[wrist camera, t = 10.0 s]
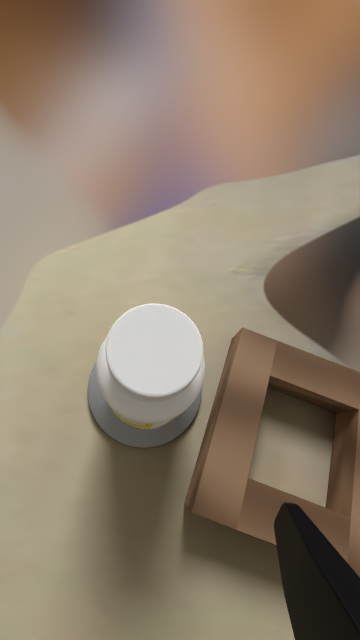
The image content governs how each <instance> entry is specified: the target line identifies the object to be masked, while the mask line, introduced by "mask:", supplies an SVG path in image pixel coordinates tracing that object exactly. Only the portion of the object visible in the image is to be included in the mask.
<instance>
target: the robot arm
mask: <svg viewBox="0 0 360 640" xmlns="http://www.w3.org/2000/svg"><path fill="white" fill-rule="evenodd" d="M274 532H275V538H276V545H277V551H278V558H279V565H280V571H281V578H282V584H283V590H284V594H285V599H286V603H287V608H288V612H289V616H290V620H291V624H292V628H293V633H294V637H295V640H360V577H359V576H358V575H357V573H356V572H355V571H354V570H353V569H352V567H351V566H350V565H349V564H348V563H347V562H346V560H345V559H344V558H343V557H342V556H341V554H340V553H339V552H338V551H337V550H336V549H335V547H334V546H333V545H332V544H331V543H330V542H329V540H328V539H327V538H326V537H325V536H324V534H323V533H322V532H321V531H320V530H319V529H318V527H317V526H316V525H315V524H314V523H313V521H312V520H311V519H310V518H309V517H308V516H307V514H306V513H305V512H304V511H303V510H302V508H301V507H300V506H299V505H297V504H295V503H289V502H284V503H283V504H282V505H281V507H280V509H279V511H278V514H277V516H276V518H275V521H274Z"/></svg>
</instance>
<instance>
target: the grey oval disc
mask: <svg viewBox="0 0 360 640" xmlns="http://www.w3.org/2000/svg"><path fill="white" fill-rule="evenodd" d="M96 362H97V361H96ZM201 394H202V388H201V390H200V392H199V394H198V396H197V398H196V399H195V400H194V402H193V403H192V404H191V406H190V407H189V408H188V409H186V410H185V411H184V412H183V413H181V414H180V415H179V416H177V417H176V418H174V419H173V420H171V421H170V422H168V423H167V424H165V425H163V426H160V427H158V428H154V429H138V428H134V427H131V426H129V425H127V424H125V423H124V422H122V421H121V420H120V419H119V418H118V417H117V416H116V415H115V414H114V412H113V411H112V409H111V408H110V406H109V405H108V403H107V402H106V400H105V399H104V397H103V395H102V393H101V391H100V388H99V385H98V381H97V376H96V363H95V365H94V367H93V369H92V371H91V375H90V378H89V384H88V399H89V405H90V408H91V411H92V414H93V416H94V418H95V420H96V421H97V423H98V424H99V426H100V427H101V428H102V429H103V430H104V431H105V432H106V433H107V434H108V435H109V436H110V437H112V438H113V439H115V440H117V441H119V442H121V443H123V444H126V445H129V446H134V447H154V446H158V445H162V444H165V443H167V442H169V441H171V440H173V439H174V438H176V437H177V436H179V435H180V434H181V433H182V432H183V431H184V430H185V429H186V428H187V427H188V426H189V425H190V423H191V422H192V421H193V419H194V417H195V415H196V413H197V411H198V408H199V405H200V401H201Z"/></svg>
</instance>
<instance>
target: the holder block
mask: <svg viewBox="0 0 360 640" xmlns="http://www.w3.org/2000/svg"><path fill="white" fill-rule="evenodd" d="M267 387H270V388H273V389H275V390H278V391H280V392H283V393H286V394H288V395H291V396H294V397H296V398H299V399H301V400H304V401H307V402H309V403H312V404H314V405H317V406H320V407H322V408H325V409H328V410H330V411H333V412H335V413H336V420H335V429H334V438H333V448H332V457H331V466H330V475H329V484H328V493H327V503H326V508H325V507H322V506H320V505H317V504H314V503H312V502H309V501H306V500H304V499H301V498H299V497H296V496H293V495H291V494H288V493H286V492H283V491H280V490H278V489H275V488H272V487H270V486H267V485H265V484H262V483H259V482H257V481H254V480H252V479H249V478H248V475H249V470H250V466H251V461H252V456H253V452H254V447H255V442H256V438H257V433H258V428H259V424H260V419H261V414H262V410H263V405H264V400H265V396H266V391H267ZM284 502H289V503H295V504H297V505H299V506H300V507H301V508H302V510H303V511H304V512H305V513H306V514H307V516H308V517H309V518H310V519H311V520H312V521H313V523H314V524H315V525H316V526H317V527H318V529H319V530H320V531H321V532H322V533H323V534H324V536H325V537H326V538H327V539H328V540H329V542H330V543H331V544H332V545H333V546H334V547H335V549H336V550H337V551H338V552H339V553H340V554H341V556H342V557H343V558H344V559H345V560H346V562H347V563H348V564H349V565H350V566H351V567H352V569H353V570H354V571H355V572H356V573H357V575H358V576H359V577H360V372H358V371H355V370H352V369H350V368H347V367H344V366H342V365H339V364H337V363H334V362H331V361H329V360H326V359H324V358H321V357H318V356H316V355H313V354H311V353H308V352H305V351H303V350H300V349H297V348H295V347H292V346H290V345H287V344H284V343H282V342H279V341H277V340H274V339H271V338H269V337H266V336H263V335H261V334H258V333H256V332H253V331H250V330H248V329H245V328H242V329H241V330H240V331H239V332H238V333H237V334H236V335H235V336H234V337H233V338H232V341H231V344H230V348H229V351H228V355H227V358H226V361H225V365H224V368H223V372H222V375H221V379H220V382H219V386H218V389H217V393H216V396H215V400H214V403H213V407H212V410H211V414H210V417H209V420H208V424H207V427H206V431H205V434H204V438H203V441H202V445H201V448H200V452H199V455H198V459H197V462H196V466H195V469H194V473H193V476H192V479H191V483H190V486H189V490H188V493H187V497H186V500H185V505H186V507H187V508H188V509H189V510H190V511H191V513H194V514H196V515H199V516H202V517H204V518H207V519H210V520H212V521H215V522H217V523H220V524H223V525H225V526H228V527H230V528H233V529H236V530H238V531H241V532H244V533H246V534H249V535H251V536H254V537H257V538H259V539H262V540H264V541H267V542H270V543H272V544H275V545H276V538H275V532H274V521H275V518H276V516H277V514H278V511H279V509H280V507H281V505H282V504H283V503H284Z"/></svg>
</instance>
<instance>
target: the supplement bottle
mask: <svg viewBox="0 0 360 640" xmlns="http://www.w3.org/2000/svg"><path fill="white" fill-rule="evenodd" d="M96 376H97V381H98V385H99V388H100V391H101V393H102V395H103V397H104V399H105V400H106V402H107V403H108V405H109V406H110V408H111V409H112V411H113V412H114V414H115V415H116V416H117V417H118V418H119V419H120V420H121V421H122V422H124V423H125V424H127V425H129V426H131V427H134V428H138V429H154V428H158V427H160V426H163V425H165V424H167V423H168V422H170V421H171V420H173V419H174V418H176V417H177V416H179V415H180V414H181V413H183V412H184V411H185V410H186V409H188V408H189V407H190V406H191V404H192V403H193V402H194V400H195V399H196V398H197V396H198V394H199V392H200V390H201V388H202V385H203V381H204V376H205V362H204V356H203V342H202V338H201V335H200V333H199V330H198V329H197V327H196V325H195V324H194V323H193V321H192V320H191V319H190V318H189V317H188V316H187V315H186V314H184V313H183V312H181V311H179V310H178V309H176V308H174V307H171V306H168V305H163V304H145V305H140V306H137V307H134V308H132V309H130V310H128V311H127V312H125V313H124V314H123V315H122V316H120V317H119V318H118V319H117V321H116V322H115V323H114V324H113V326H112V328H111V329H110V331H109V334H108V336H107V337H106V339H105V340H104V342H103V343H102V345H101V347H100V350H99V353H98V356H97V362H96Z"/></svg>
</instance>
